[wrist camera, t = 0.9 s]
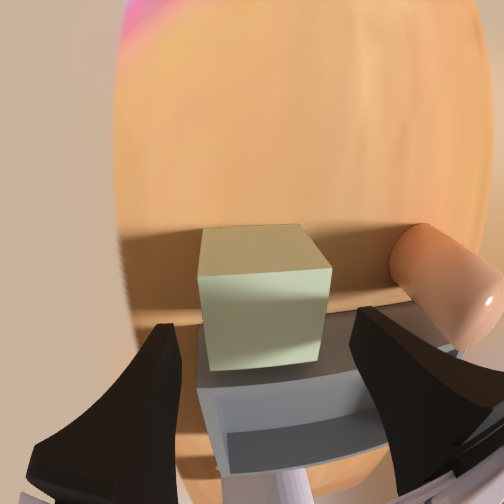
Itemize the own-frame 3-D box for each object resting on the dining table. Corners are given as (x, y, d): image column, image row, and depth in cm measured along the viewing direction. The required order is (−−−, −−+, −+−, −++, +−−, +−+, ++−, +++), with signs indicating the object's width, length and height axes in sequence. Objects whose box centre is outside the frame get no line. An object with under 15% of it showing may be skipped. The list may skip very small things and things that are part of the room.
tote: (218, 431, 23) (221, 477, 18) (198, 324, 17) (196, 388, 13) (389, 402, 25) (407, 437, 20) (436, 296, 19) (473, 334, 14)
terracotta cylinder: (401, 297, 18) (456, 362, 12) (378, 253, 16) (447, 321, 10) (446, 257, 17) (509, 310, 11) (430, 209, 16) (509, 257, 9)
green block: (210, 307, 17) (210, 371, 12) (202, 227, 15) (197, 276, 10) (293, 301, 17) (317, 360, 13) (298, 223, 15) (332, 267, 11)
